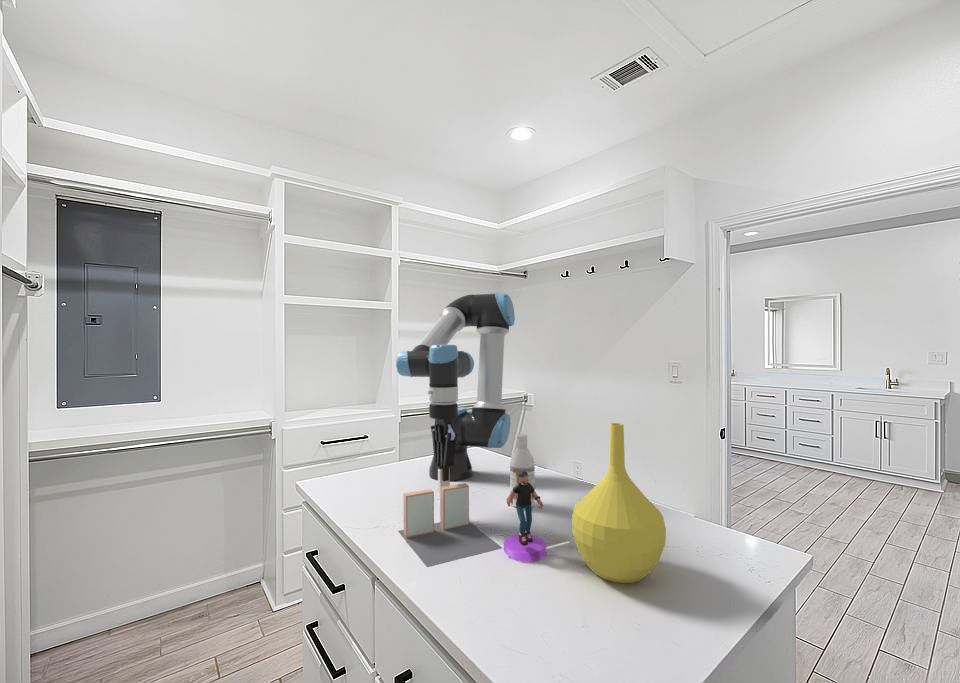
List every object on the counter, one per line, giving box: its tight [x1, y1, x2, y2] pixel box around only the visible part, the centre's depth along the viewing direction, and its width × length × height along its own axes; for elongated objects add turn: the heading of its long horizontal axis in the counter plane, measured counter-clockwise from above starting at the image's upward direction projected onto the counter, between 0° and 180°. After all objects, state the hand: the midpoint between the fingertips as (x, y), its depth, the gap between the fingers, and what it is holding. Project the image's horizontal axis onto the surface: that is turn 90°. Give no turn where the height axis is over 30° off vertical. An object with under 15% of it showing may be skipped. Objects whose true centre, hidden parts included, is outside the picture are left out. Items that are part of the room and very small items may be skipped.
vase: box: [571, 422, 667, 584], centre depth 91 cm, size 18×18×30 cm
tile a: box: [439, 482, 470, 530], centre depth 113 cm, size 7×2×10 cm, turn 118°
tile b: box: [402, 488, 435, 538], centre depth 108 cm, size 7×2×10 cm, turn 118°
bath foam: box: [509, 433, 536, 510], centre depth 128 cm, size 7×7×20 cm
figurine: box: [503, 471, 547, 563], centre depth 100 cm, size 9×9×18 cm
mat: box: [397, 521, 503, 568], centre depth 105 cm, size 18×20×1 cm
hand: (443, 491), depth 118 cm, fingers closed
